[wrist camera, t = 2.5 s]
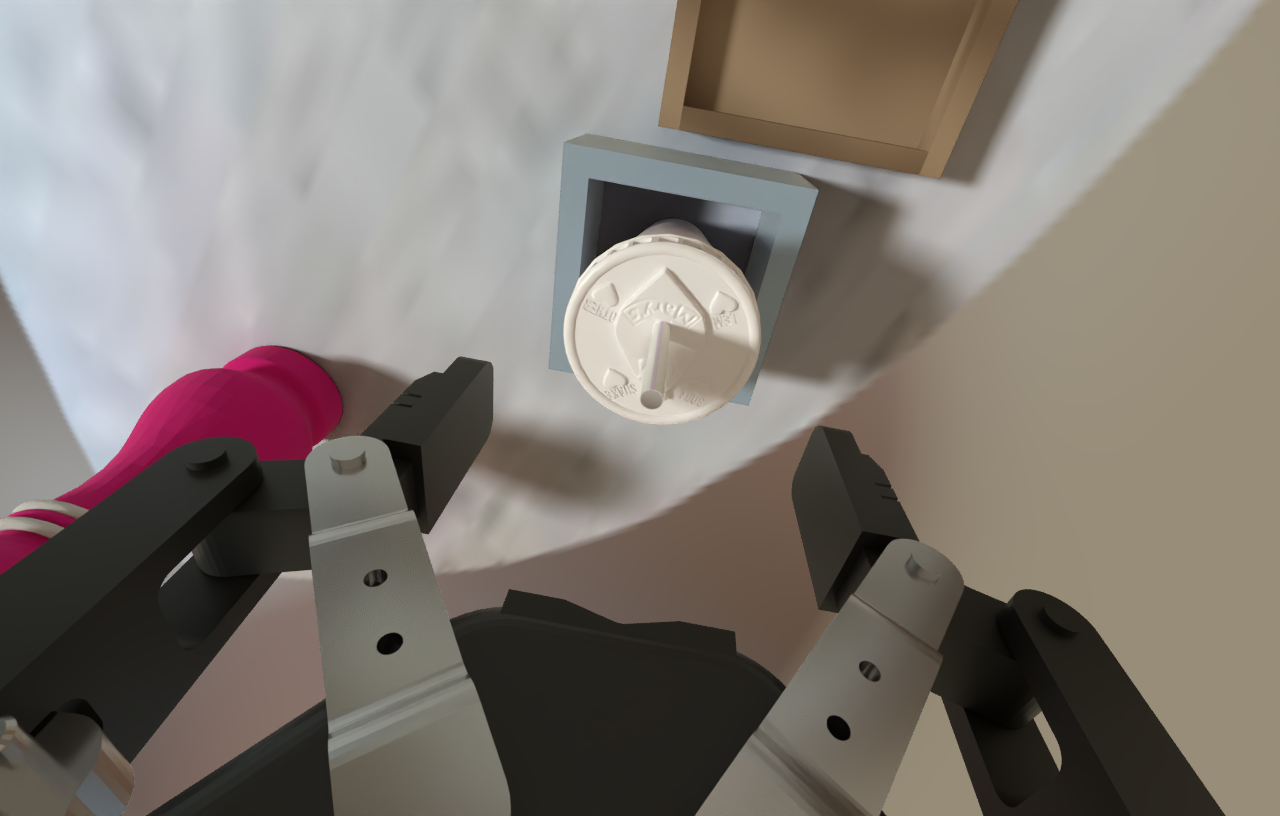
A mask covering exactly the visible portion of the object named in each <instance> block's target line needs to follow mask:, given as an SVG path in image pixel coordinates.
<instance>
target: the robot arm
mask: <svg viewBox="0 0 1280 816" xmlns="http://www.w3.org/2000/svg"><path fill="white" fill-rule="evenodd" d="M492 421H493V366H492V363H491V362H487V361H482V360H477V359H472V358H466V357H458V358H457V359H456V360H455V361H454V362H453V363H452V364H451V365H450V366H449V368H448V369H447V370H446V371H445V372H444V373H438V372H433V373H431V374H428V375H426V376H424V377H422V378H420V379H417V380H415V381H414V382H413V383H412V384H411V385H410V386H409V387H408V388H407V389H406V390H405V391H404V394H403V395H400V396H399V397H398V398H397V399H396V400H395V401H394V404H393V405H392V404H391V405H390V406H389V407H388V408H387V409H386V410H385V411H384V412H383V413H382V414H381V415H380V416H379V417H378V418H377V419H376V420H375V421H374V422H373V423H372V424H371V425H370V426H369V427H368V428H367V429H366V430H365V431H364V432H363V433H362V434H361V435H360V436H347V437H341V438H337V439H333V440H330V441H328V442H325V443H323V444H321V445H320V446H318V447H316V448H315V449H314V450H312V451H311V452H310V453H309V455H308V456H307V458H306V459H302V460H271V461H259V458H258V454H257V451H256V448H255V446H254V445H253V444H252V443H250V442H249V441H247V440H244V439H241V438H236V437H212V438H206V439H201V440H197V441H194V442H191V443H187V444H185V445H182V446H180V447H178V448H176V449H174V450H172V451H170V452H169V453H167V454H166V455H164V456H163V457H162V458H160V459H159V460H158V461H156V462H155V463H153V464H152V465H151V466H149V467H148V468H147V469H145V470H144V471H142V472H141V473H140V474H138V475H137V476H136V477H134V478H133V479H131V480H130V481H129V482H127V483H126V484H125V485H123V486H122V487H120V488H119V489H118V490H116V491H115V492H114V493H112V494H111V495H110V496H108V497H107V498H105V499H104V500H103V501H101V502H100V503H99V504H97V505H96V506H94V507H93V508H92V509H90V510H89V511H88V512H86V513H85V514H83V515H82V516H81V517H79V518H78V519H77V520H75V521H74V522H72V523H71V524H70V525H68V526H67V527H66V528H64V529H63V530H61V531H60V532H59V533H57V534H56V535H55V536H53V537H52V538H50V539H49V540H48V541H46V542H45V543H44V544H42V545H41V546H40V547H38V548H37V549H35V550H34V551H33V552H31V553H30V554H29V555H27V556H26V557H24V558H23V559H22V560H20V561H19V562H18V563H16V564H15V565H13V566H12V567H11V568H9V569H8V570H7V571H5V572H4V573H2V574H1V575H0V816H121V815H122V814H123V812H124V811H125V809H126V807H127V805H128V803H129V800H130V798H131V795H132V792H133V788H134V779H135V778H134V773H133V769H132V767H131V766H130V763H131V762H132V761H133V759H134V758H135V757H136V756H137V754H138V753H139V752H140V751H141V749H142V748H143V747H144V745H145V744H146V743H147V742H148V740H149V739H150V738H151V737H152V735H153V734H154V733H155V732H156V730H157V729H158V728H159V727H160V725H161V724H162V723H163V721H164V720H165V719H166V718H167V716H168V715H169V714H170V713H171V711H172V710H173V709H174V708H175V706H176V705H177V704H178V702H179V701H180V700H181V699H182V698H183V696H184V695H185V694H186V693H187V691H188V690H189V689H190V687H191V686H192V685H193V684H194V682H195V681H196V680H197V679H198V677H199V676H200V675H201V674H202V672H203V671H204V670H205V669H206V667H207V666H208V665H209V664H210V662H211V661H212V660H213V658H214V657H215V656H216V655H217V653H218V652H219V651H220V650H221V648H222V647H223V646H224V645H225V643H226V642H227V641H228V640H229V638H230V637H231V636H232V634H233V633H234V632H235V630H236V629H237V628H238V627H239V625H240V624H241V623H242V622H243V621H244V619H245V618H246V617H247V616H248V614H249V613H250V612H251V610H252V609H253V608H254V607H255V605H256V604H257V603H258V602H259V600H260V599H261V598H262V597H263V595H264V594H265V593H266V591H267V590H268V589H269V588H270V586H271V585H272V584H273V583H274V581H275V580H276V579H277V578H278V576H279V575H280V574H281V573H282V572H290V571H302V570H312V576H313V585H314V595H315V603H316V613H317V622H318V632H319V641H320V651H321V660H322V670H323V678H324V687H325V699H324V700H322V701H321V702H319V703H318V704H316V705H315V706H313V707H312V708H310V709H308V710H307V711H305V712H304V713H303V714H301V715H300V716H298V717H296V718H295V719H293V720H292V721H290V722H289V723H287V724H286V725H284V726H282V727H281V728H279V729H278V730H276V731H275V732H273V733H272V734H270V735H269V736H267V737H266V738H264V739H263V740H261V741H259V742H258V743H257V744H255V745H254V746H252V747H250V748H249V749H247V750H246V751H244V752H243V753H241V754H240V755H238V756H237V757H235V758H234V759H232V760H230V761H229V762H227V763H226V764H224V765H223V766H221V767H220V768H218V769H217V770H215V771H214V772H212V773H211V774H209V775H207V776H206V777H204V778H203V779H201V780H200V781H198V782H197V783H195V784H194V785H192V786H191V787H189V788H188V789H186V790H184V791H183V792H181V793H180V794H179V795H177V796H175V797H174V798H172V799H171V800H169V801H168V802H166V803H165V804H163V805H162V806H160V807H158V808H157V809H156V810H154V811H152V812H151V813H149V814H148V815H146V816H886V815H885V814H884V812H883V811H882V808H883V805H884V803H885V800H886V798H887V795H888V793H889V791H890V788H891V786H892V783H893V781H894V778H895V776H896V773H897V771H898V768H899V766H900V764H901V761H902V759H903V756H904V754H905V752H906V749H907V747H908V744H909V742H910V739H911V737H912V734H913V732H914V730H915V727H916V724H917V722H918V720H919V717H920V715H921V712H922V710H923V708H924V705H925V703H926V700H927V698H928V695H929V693H930V691H931V692H933V693H935V694H937V695H939V696H941V697H942V700H943V703H944V706H945V709H946V712H947V714H948V717H949V720H950V723H951V726H952V729H953V731H954V734H955V737H956V740H957V742H958V745H959V748H960V751H961V754H962V756H963V759H964V762H965V765H966V768H967V771H968V773H969V776H970V779H971V782H972V785H973V788H974V790H975V793H976V796H977V799H978V802H979V805H980V807H981V810H982V813H983V816H1225V814H1224V813H1223V812H1222V810H1221V809H1220V807H1219V806H1218V804H1217V803H1216V801H1215V800H1214V799H1213V797H1212V796H1211V794H1210V793H1209V791H1208V790H1207V789H1206V788H1205V786H1204V784H1203V783H1202V781H1201V780H1200V779H1199V777H1198V776H1197V774H1196V773H1195V771H1194V770H1193V768H1192V767H1191V766H1190V764H1189V763H1188V761H1187V760H1186V758H1185V757H1184V756H1183V754H1182V753H1181V751H1180V750H1179V748H1178V747H1177V746H1176V744H1175V743H1174V741H1173V740H1172V738H1171V737H1170V736H1169V734H1168V733H1167V731H1166V730H1165V728H1164V727H1163V725H1162V724H1161V723H1160V721H1159V720H1158V718H1157V717H1156V715H1155V714H1154V712H1153V711H1152V710H1151V708H1150V707H1149V705H1148V704H1147V702H1146V701H1145V700H1144V698H1143V697H1142V696H1141V694H1140V692H1139V691H1138V690H1137V688H1136V687H1135V685H1134V684H1133V683H1132V681H1131V679H1130V678H1129V677H1128V675H1127V674H1126V672H1125V671H1124V669H1123V668H1122V667H1121V665H1120V664H1119V662H1118V661H1117V659H1116V658H1115V657H1114V655H1113V654H1112V652H1111V651H1110V649H1109V648H1108V646H1107V645H1106V644H1105V642H1104V641H1103V640H1102V638H1101V636H1100V635H1099V634H1098V632H1097V631H1096V630H1095V628H1094V627H1093V626H1092V625H1091V624H1090V623H1089V622H1088V621H1087V619H1085V618H1084V617H1083V616H1082V615H1081V614H1080V613H1078V612H1077V611H1076V610H1075V609H1073V608H1072V607H1070V606H1069V605H1068V604H1066V603H1064V602H1063V601H1061V600H1059V599H1057V598H1055V597H1053V596H1051V595H1049V594H1046V593H1044V592H1040V591H1036V590H1031V589H1028V590H1027V589H1025V590H1020V591H1018V592H1016V593H1015V595H1014V596H1013V597H1012V598H1011V599H1010V600H1009V601H1008V603H1004V602H1002V601H999V600H997V599H995V598H992V597H990V596H988V595H985V594H983V593H981V592H978V591H976V590H973V589H971V588H969V587H967V586H965V585H964V581H963V578H962V576H961V574H960V572H959V571H958V569H957V568H956V566H955V565H954V564H953V563H952V562H951V561H950V560H949V559H948V558H947V557H946V556H944V555H943V554H942V553H940V552H939V551H937V550H936V549H934V548H932V547H930V546H928V545H926V544H924V543H921V542H919V540H918V538H917V536H916V534H915V532H914V530H913V528H912V526H911V524H910V522H909V520H908V518H907V516H906V514H905V512H904V510H903V508H902V506H901V504H900V502H898V501H897V499H898V498H897V496H896V494H895V492H894V490H893V489H891V484H890V482H889V480H888V478H887V476H886V475H885V472H884V470H883V469H882V468H881V467H880V466H878V465H877V463H876V462H875V461H874V460H873V459H872V458H870V457H869V455H864V454H861V452H860V450H859V448H858V446H857V444H856V441H855V439H854V437H853V435H852V433H851V432H850V431H846V430H840V429H835V428H830V427H825V426H817V427H816V428H815V429H814V431H813V432H812V435H811V437H810V439H809V442H808V444H807V447H806V449H805V451H804V454H803V456H802V458H801V461H800V463H799V466H798V468H797V470H796V473H795V475H794V479H793V483H792V501H793V505H794V509H795V513H796V517H797V521H798V526H799V530H800V534H801V538H802V542H803V546H804V550H805V555H806V558H807V563H808V567H809V571H810V576H811V579H812V584H813V588H814V592H815V596H816V601H817V605H818V609H819V610H825V611H830V612H836V613H838V614H837V616H836V617H835V619H834V620H833V621H832V623H831V624H830V626H829V627H828V629H827V630H826V631H825V633H824V634H823V636H822V637H821V639H820V640H819V641H818V643H817V644H816V646H815V647H814V649H813V650H812V651H811V653H810V654H809V656H808V657H807V659H806V660H805V661H804V663H803V664H802V666H801V667H800V669H799V670H798V671H797V673H796V674H795V676H794V677H793V679H792V680H791V681H790V683H789V684H788V686H787V687H785V685H784V684H783V683H782V682H781V681H780V680H779V679H777V678H776V677H775V676H774V675H773V674H772V673H770V672H769V671H768V670H767V669H765V668H764V667H763V666H761V665H760V664H758V663H757V662H755V661H754V660H752V659H750V658H749V657H747V656H745V655H743V654H741V653H739V652H737V651H736V641H735V640H736V639H735V632H733V631H729V630H723V629H718V628H713V627H707V626H702V625H697V624H691V623H686V622H681V621H675V622H658V623H657V622H656V623H636V624H621V623H617V622H614V621H612V620H609V619H607V618H605V617H603V616H600V615H598V614H595V613H593V612H591V611H589V610H587V609H585V608H582V607H580V606H578V605H576V604H573V603H571V602H569V601H567V600H564V599H559V598H553V597H548V596H543V595H538V594H532V593H527V592H521V591H516V590H511V589H509V591H508V594H507V596H506V599H505V601H504V604H503V607H493V608H487V609H480V610H476V611H473V612H469V613H465V614H463V615H460V616H458V617H455V618H452V619H450V620H449V617H448V614H447V611H446V608H445V605H444V602H443V599H442V595H441V592H440V589H439V586H438V583H437V580H436V577H435V574H434V571H433V568H432V565H431V562H430V558H429V555H428V552H427V549H426V546H425V543H424V540H423V537H422V534H421V533H425V534H429V533H430V531H431V530H432V528H433V526H434V525H435V523H436V521H437V520H438V518H439V517H440V515H441V513H442V512H443V510H444V508H445V507H446V505H447V504H448V502H449V500H450V499H451V497H452V496H453V494H454V492H455V491H456V489H457V487H458V486H459V484H460V483H461V481H462V479H463V478H464V476H465V474H466V473H467V471H468V470H469V468H470V466H471V465H472V463H473V462H474V460H475V458H476V457H477V455H478V453H479V452H480V450H481V449H482V447H483V445H484V444H485V442H486V440H487V438H488V436H489V434H490V430H491V426H492ZM191 551H192V553H193V556H192V557H191V558H190V559H189V560H188V561H187V562H186V563H185V564H184V565H183V566H182V567H181V568H180V569H179V570H178V571H177V572H176V573H175V574H174V575H173V576H172V577H171V578H170V579H169V580H168V581H167V582H166V583H165V584H164V585H163V586H162V587H161V585H162V582H163V581H164V579H165V578H166V576H167V575H168V574H169V573H170V571H172V570H173V568H175V567H176V566H177V565H178V564H179V563H180V562H181V561H182V560H183V559H184V558H185V557H186V556H187V555H188V554H189V553H190V552H191ZM160 587H161V588H160ZM1041 711H1042V712H1043V714H1044V716H1045V718H1046V720H1047V722H1048V724H1049V726H1050V728H1051V730H1052V732H1053V733H1054V735H1055V737H1056V739H1057V742H1058V744H1059V746H1060V750H1061V756H1062V765H1061V770H1060V772H1059V770H1058V768H1057V766H1056V764H1055V762H1054V759H1053V757H1052V755H1051V753H1050V751H1049V749H1048V747H1047V745H1046V743H1045V741H1044V739H1043V737H1042V735H1041V733H1040V731H1039V729H1038V727H1037V725H1036V723H1035V721H1034V719H1033V718H1034V717H1035V716H1037V715H1038V714H1039V713H1040V712H1041Z"/></svg>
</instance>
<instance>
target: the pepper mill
mask: <svg viewBox="0 0 1280 816" xmlns="http://www.w3.org/2000/svg"><path fill="white" fill-rule="evenodd" d="M342 411H343V407H342V401H341V396H340V394H339V392H338V389H337V387H336V385H335V384H334V382H333V381H332V380H331V378H330V377H329V376H328V375H327V373H326V372H325V371H323V370H322V369H321V368H320V367H319V366H318V365H317V364H316V363H315V362H313V361H311V360H310V359H308V358H306V357H305V356H303V355H301V354H300V353H298V352H295V351H292V350H289V349H286V348H283V347H276V346H261V347H256V348H254V349H251V350H249V351H247V352H246V353H244V354H242V355H241V356H239V357H237V358H235V359H234V360H232V361H230V362H229V363H227V364H226V365H225V366H224V367H223V368H216V369H204V370H199V371H196V372H193V373H190V374H187V375H185V376H183V377H181V378H180V379H178V380H177V381H175V382H174V383H173V384H171V385H170V386H168V387H167V388H165V389H164V390H163V391H162V392H161V393H160V394H159V395H158V396H157V397H156V398H155V399H154V400H153V401H152V402H151V403H150V404H149V405H148V407H147V408H146V410H145V411H144V412H143V414H142V415H141V417H140V419H139V420H138V422H137V424H136V426H135V427H134V429H133V431H132V433H131V434H130V436H129V438H128V440H127V441H126V443H125V444H124V446H123V447H122V449H121V450H120V452H119V453H118V454H117V455H116V456H115V457H114V458H113V459H112V460H111V461H110V462H109V463H108V465H107V466H106V467H105V468H104V469H103V470H101V471H100V472H98V473H97V474H96V475H94V476H93V477H91V478H90V479H89V480H87V481H86V482H85V483H83V484H82V485H80V486H79V487H77V488H75V489H73V490H72V491H69V492H67V493H65V494H63V495H62V496H60V497H58V498H56V499H54V500H33V501H28V502H25V503H23V504H21V505H19V506H18V507H17V508H16V509H14V510H13V512H12V514H10V515H9V516H8V517H6V518H0V575H1V574H2V573H4V572H5V571H7V570H8V569H9V568H11V567H12V566H13V565H15V564H16V563H18V562H19V561H20V560H22V559H23V558H24V557H26V556H27V555H29V554H30V553H31V552H33V551H34V550H35V549H37V548H38V547H40V546H41V545H42V544H44V543H45V542H46V541H48V540H49V539H50V538H52V537H53V536H55V535H56V534H57V533H59V532H60V531H61V530H63V529H64V528H66V527H67V526H68V525H70V524H71V523H72V522H74V521H75V520H77V519H78V518H79V517H81V516H82V515H83V514H85V513H86V512H88V511H89V510H90V509H92V508H93V507H94V506H96V505H97V504H99V503H100V502H101V501H103V500H104V499H105V498H107V497H108V496H110V495H111V494H112V493H114V492H115V491H116V490H118V489H119V488H120V487H122V486H123V485H125V484H126V483H127V482H129V481H130V480H131V479H133V478H134V477H136V476H137V475H138V474H140V473H141V472H142V471H144V470H145V469H147V468H148V467H149V466H151V465H152V464H153V463H155V462H156V461H158V460H159V459H160V458H162V457H163V456H164V455H166V454H167V453H169V452H170V451H172V450H174V449H176V448H178V447H180V446H182V445H185V444H187V443H191V442H194V441H197V440H201V439H206V438H212V437H236V438H241V439H244V440H247V441H249V442H250V443H252V444H253V445H254V446H255V448H256V451H257V454H258V458H259V461H271V460H302V459H306V458H307V456H308V455H309V453H310V452H311V451H312V446H315V445H316V444H318V443H319V442H320V441H321V440H323V439H324V438H325V437H326V436H327V435H328V434H329V433H330V432H331V431H332V430H333V429H334V428H335V427H336V426H337V425H338V424H339V422H340V419H341V416H342Z"/></svg>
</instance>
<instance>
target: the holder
mask: <svg viewBox="0 0 1280 816" xmlns="http://www.w3.org/2000/svg"><path fill="white" fill-rule="evenodd" d="M605 181H607V182H612V183H618V184H623V185H629V186H634V187H639V188H645V189H650V190H655V191H661V192H666V193H672V194H677V195H682V196H688V197H693V198H698V199H704V200H709V201H715V202H720V203H725V204H731V205H736V206H741V207H747V208H752V209H758V210H763V211H762V215H761V219H760V222H759V226H758V229H757V233H756V237H755V240H754V244H753V248H752V251H751V255H750V259H749V262H748V266H747V269H746V273H745V278H746V280H747V281H748V283H749V285H750V286H751V288H752V290H753V292H754V294H755V298H756V302H757V306H758V310H759V314H760V327H761V344H760V351H759V355H758V359H757V362H756V365H755V368H754V370H753V372H752V374H751V376H750V377H749V379H748V381H747V382H746V384H745V385H744V386H743V388H742V389H741V390H740V391H739V392H738V394H737V395H736V396H735V397H734V398H733V399H731V400H730V401H729V402H732V403H737V404H743V405H748V406H749V403H750V400H751V397H752V393H753V390H754V387H755V384H756V381H757V378H758V375H759V372H760V369H761V366H762V363H763V360H764V357H765V354H766V351H767V348H768V344H769V341H770V338H771V335H772V332H773V329H774V326H775V323H776V320H777V317H778V314H779V311H780V308H781V305H782V302H783V299H784V295H785V292H786V289H787V286H788V283H789V280H790V277H791V274H792V271H793V268H794V265H795V262H796V259H797V256H798V253H799V249H800V246H801V243H802V240H803V237H804V234H805V231H806V228H807V225H808V222H809V219H810V216H811V213H812V210H813V207H814V204H815V200H816V197H817V194H818V191H819V190H818V189H817V188H816V187H814V186H813V185H812V184H811V183H809V182H808V181H807V180H806V179H804V178H803V177H802V176H800V175H799V174H798V173H795V172H790V171H785V170H779V169H774V168H769V167H763V166H758V165H752V164H747V163H742V162H736V161H731V160H726V159H720V158H715V157H710V156H704V155H699V154H693V153H688V152H683V151H677V150H672V149H667V148H661V147H656V146H651V145H645V144H640V143H635V142H629V141H624V140H618V139H613V138H608V137H602V136H597V135H592V134H584V135H582V136H579V137H576V138H574V139H571V140H569V141H566V142H564V144H563V159H562V174H561V189H560V204H559V220H558V235H557V250H556V265H555V280H554V295H553V310H552V325H551V340H550V355H549V369H552V370H557V371H563V372H568V373H573V374H574V372H573V370H572V368H571V366H570V363H569V361H568V358H567V354H566V350H565V345H564V336H563V329H564V318H565V313H566V309H567V306H568V303H569V300H570V298H571V296H572V293H573V291H574V288H575V286H576V284H577V281H578V279H579V278H580V277H581V275H582V274H583V273H584V272H585V270H586V269H587V268H588V267H589V265H590V264H591V263H592V262H593V260H594V259H596V257H597V247H598V238H599V229H600V220H601V211H602V202H603V193H604V184H605Z"/></svg>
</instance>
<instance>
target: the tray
mask: <svg viewBox="0 0 1280 816" xmlns="http://www.w3.org/2000/svg"><path fill="white" fill-rule="evenodd" d="M1018 1H1019V0H678V1H677V8H676V14H675V21H674V27H673V34H672V40H671V47H670V53H669V60H668V66H667V73H666V79H665V85H664V92H663V98H662V105H661V111H660V118H659V124H658V126H660V127H666V128H671V129H676V130H682V131H687V132H692V133H698V134H703V135H709V136H714V137H719V138H725V139H730V140H735V141H741V142H746V143H751V144H757V145H762V146H767V147H773V148H778V149H783V150H789V151H794V152H799V153H805V154H810V155H816V156H821V157H826V158H832V159H837V160H842V161H848V162H853V163H858V164H864V165H869V166H874V167H880V168H885V169H890V170H896V171H901V172H906V173H912V174H917V175H923V176H928V177H933V178H939V179H940V177H941V174H942V172H943V170H944V168H945V165H946V163H947V161H948V159H949V156H950V154H951V152H952V150H953V147H954V145H955V143H956V141H957V138H958V136H959V134H960V132H961V129H962V127H963V125H964V123H965V120H966V118H967V116H968V113H969V111H970V109H971V107H972V104H973V102H974V100H975V98H976V95H977V93H978V91H979V89H980V86H981V84H982V82H983V80H984V77H985V75H986V73H987V71H988V68H989V66H990V64H991V62H992V59H993V57H994V55H995V53H996V50H997V48H998V46H999V43H1000V41H1001V39H1002V37H1003V34H1004V32H1005V30H1006V28H1007V25H1008V23H1009V21H1010V19H1011V16H1012V14H1013V12H1014V10H1015V7H1016V5H1017V3H1018Z"/></svg>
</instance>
